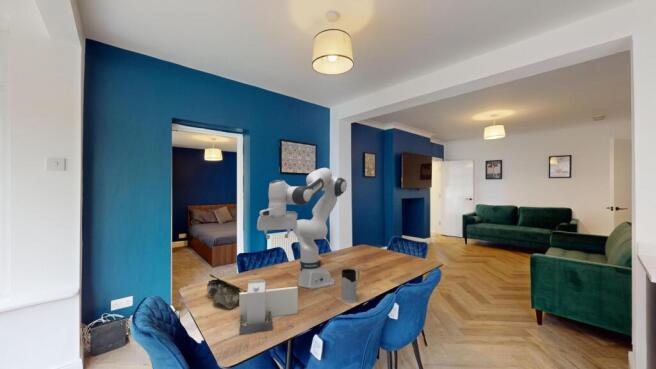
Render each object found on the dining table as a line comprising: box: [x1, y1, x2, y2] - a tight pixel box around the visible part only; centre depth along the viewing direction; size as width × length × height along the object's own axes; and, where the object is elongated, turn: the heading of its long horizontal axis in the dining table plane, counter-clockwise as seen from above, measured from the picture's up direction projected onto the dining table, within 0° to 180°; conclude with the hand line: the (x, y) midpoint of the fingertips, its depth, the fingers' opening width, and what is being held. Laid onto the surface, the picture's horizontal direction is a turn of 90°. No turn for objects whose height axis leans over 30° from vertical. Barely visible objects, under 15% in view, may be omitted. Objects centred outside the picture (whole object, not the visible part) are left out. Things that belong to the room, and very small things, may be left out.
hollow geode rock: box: [206, 273, 248, 310], centre depth 138 cm, size 28×13×15 cm
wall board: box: [238, 286, 299, 323], centre depth 122 cm, size 26×2×12 cm, turn 107°
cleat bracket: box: [239, 311, 274, 336], centre depth 114 cm, size 13×10×3 cm
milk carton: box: [246, 279, 267, 325], centre depth 115 cm, size 7×7×19 cm
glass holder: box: [340, 268, 360, 304], centre depth 142 cm, size 9×14×15 cm, turn 140°
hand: (277, 238), depth 136 cm, fingers open, 8 cm apart
